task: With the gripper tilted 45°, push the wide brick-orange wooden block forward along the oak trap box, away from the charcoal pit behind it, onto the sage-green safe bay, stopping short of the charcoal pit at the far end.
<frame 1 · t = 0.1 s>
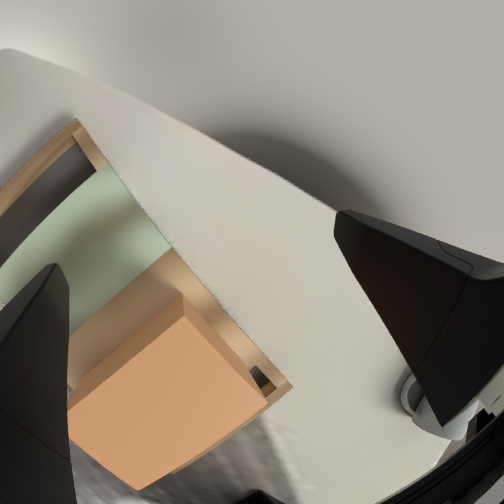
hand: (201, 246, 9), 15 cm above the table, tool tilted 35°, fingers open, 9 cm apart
trap box: (114, 312, 22), on the table
ceramic mug: (424, 391, 31), on the table
block: (159, 372, 21), point 2 cm above the table, touching trap box
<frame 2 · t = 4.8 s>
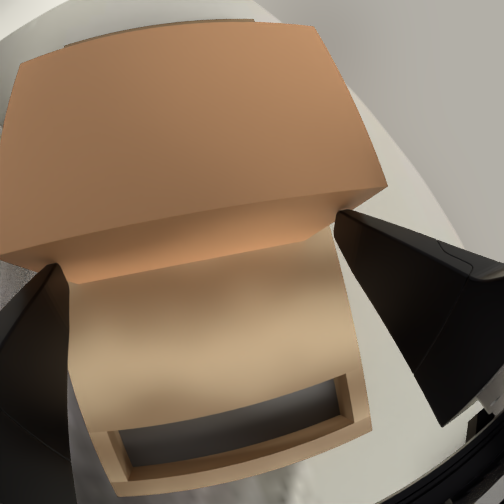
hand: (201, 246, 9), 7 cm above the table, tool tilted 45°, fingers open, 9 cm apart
trap box: (181, 213, 16), on the table
block: (178, 190, 14), point 2 cm above the table, touching trap box
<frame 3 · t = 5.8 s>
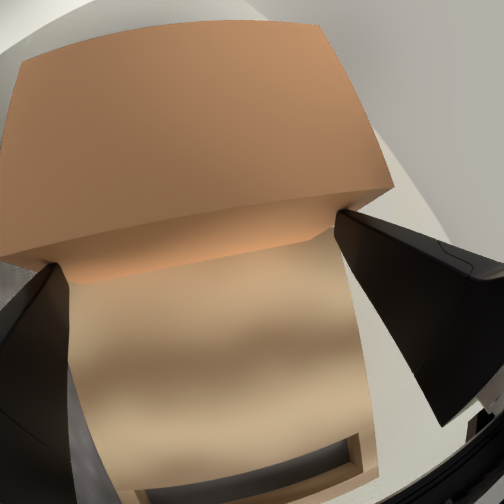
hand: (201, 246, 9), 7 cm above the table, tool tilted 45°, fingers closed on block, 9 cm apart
trap box: (198, 279, 15), on the table
block: (182, 189, 14), point 2 cm above the table, touching gripper, trap box
when the fingers open (7 cm above the table, at t = 6.4 s): block stays where it is, resting on trap box.
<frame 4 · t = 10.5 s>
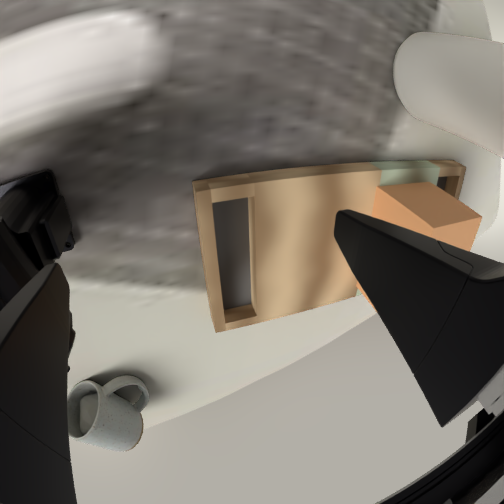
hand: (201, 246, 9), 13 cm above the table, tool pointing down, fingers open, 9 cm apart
trap box: (349, 231, 28), on the table
alcohol: (420, 75, 21), on the table
ceramic mug: (108, 389, 32), on the table
block: (393, 235, 28), point 2 cm above the table, touching trap box
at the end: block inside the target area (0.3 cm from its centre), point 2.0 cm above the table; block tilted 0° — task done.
